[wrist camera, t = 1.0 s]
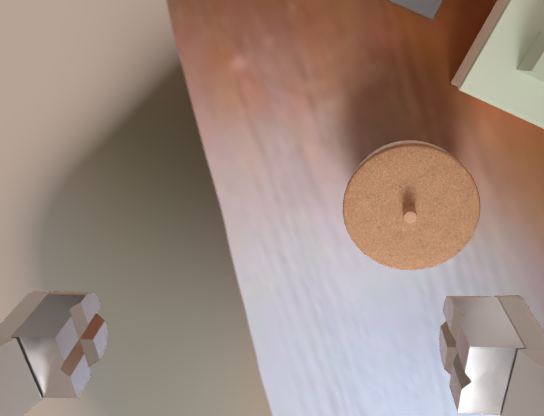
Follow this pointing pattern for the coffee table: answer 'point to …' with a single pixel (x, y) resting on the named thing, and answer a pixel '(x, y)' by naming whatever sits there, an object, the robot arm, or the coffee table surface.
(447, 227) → the lidded jar
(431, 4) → the mat
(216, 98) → the coffee table surface
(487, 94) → the lid
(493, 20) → the cream box
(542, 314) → the coffee table surface
